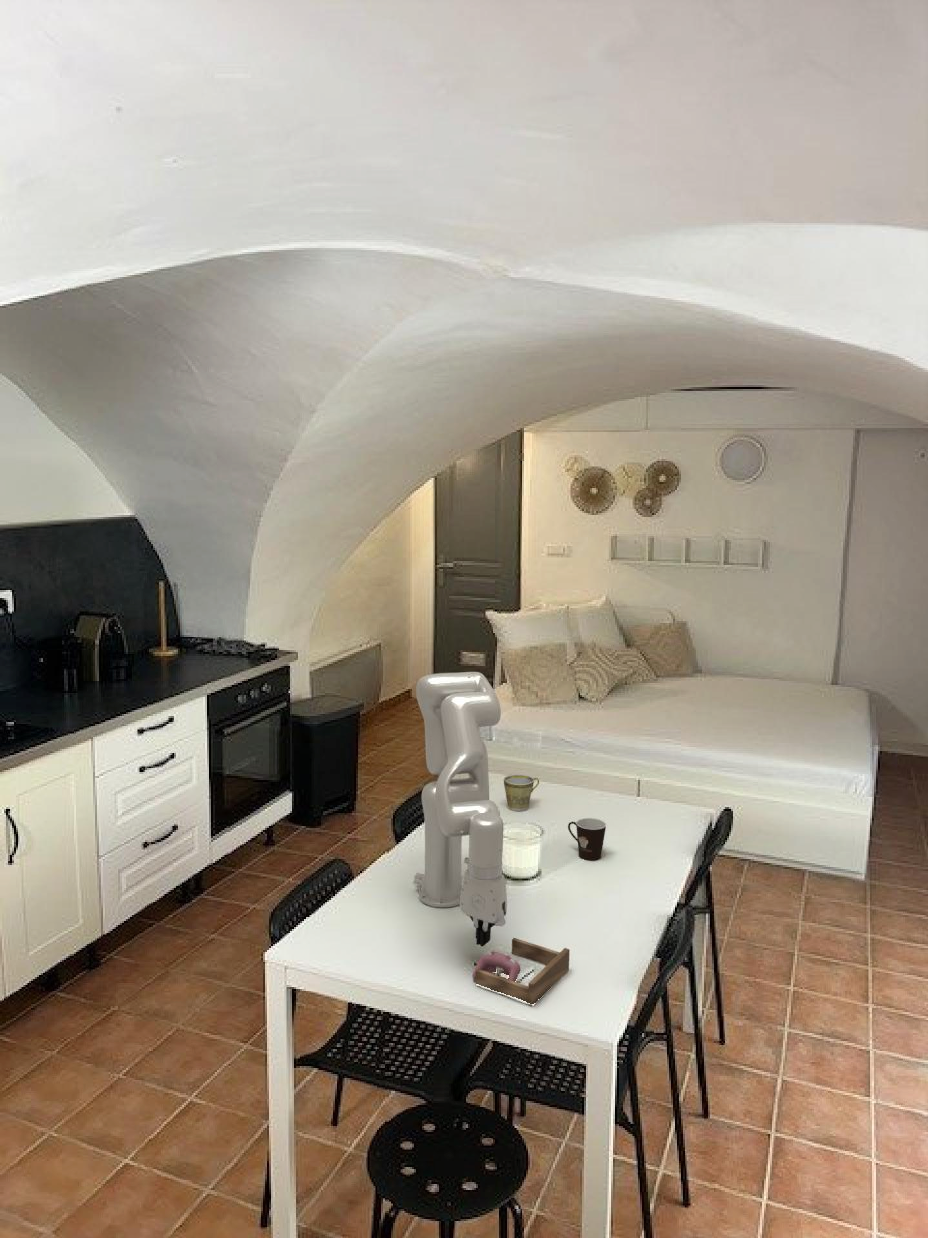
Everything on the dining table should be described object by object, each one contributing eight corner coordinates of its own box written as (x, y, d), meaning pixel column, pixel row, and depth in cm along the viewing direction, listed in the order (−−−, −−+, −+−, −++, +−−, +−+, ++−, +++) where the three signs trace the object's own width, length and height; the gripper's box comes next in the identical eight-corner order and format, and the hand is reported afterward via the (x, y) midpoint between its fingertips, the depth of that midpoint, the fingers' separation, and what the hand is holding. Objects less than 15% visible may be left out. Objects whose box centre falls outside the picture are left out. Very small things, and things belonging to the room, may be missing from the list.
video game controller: (518, 992, 199) (525, 959, 201) (509, 993, 195) (517, 959, 197) (478, 980, 204) (485, 947, 206) (469, 980, 200) (477, 947, 202)
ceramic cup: (513, 815, 296) (513, 786, 295) (497, 805, 305) (498, 777, 303) (546, 809, 302) (547, 780, 301) (530, 799, 311) (530, 771, 309)
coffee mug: (610, 860, 264) (611, 827, 262) (584, 864, 260) (585, 831, 259) (590, 844, 274) (591, 813, 273) (564, 848, 271) (565, 816, 269)
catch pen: (475, 985, 199) (475, 964, 198) (513, 951, 213) (514, 931, 212) (532, 1006, 191) (533, 984, 190) (568, 970, 205) (569, 949, 205)
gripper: (448, 865, 205) (446, 940, 208) (505, 884, 197) (503, 961, 201) (465, 853, 211) (464, 926, 215) (522, 871, 203) (519, 946, 207)
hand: (482, 943), depth 208 cm, fingers closed
